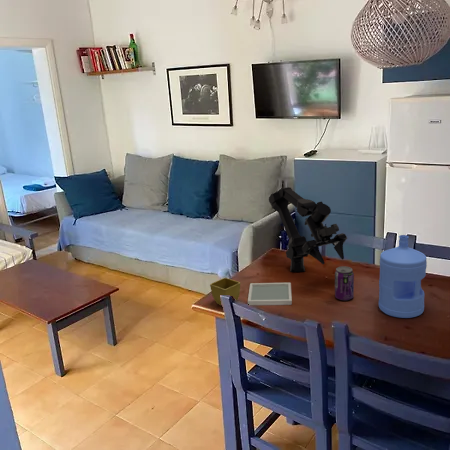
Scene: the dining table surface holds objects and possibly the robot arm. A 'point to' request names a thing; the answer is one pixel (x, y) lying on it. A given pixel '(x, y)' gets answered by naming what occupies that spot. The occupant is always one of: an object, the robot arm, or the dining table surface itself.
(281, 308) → the dining table surface
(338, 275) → the beverage can
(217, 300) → the flower pot
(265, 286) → the tray
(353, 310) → the dining table surface
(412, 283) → the water jug
